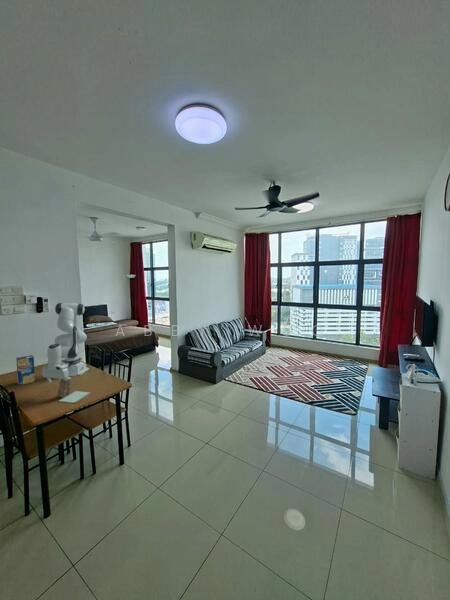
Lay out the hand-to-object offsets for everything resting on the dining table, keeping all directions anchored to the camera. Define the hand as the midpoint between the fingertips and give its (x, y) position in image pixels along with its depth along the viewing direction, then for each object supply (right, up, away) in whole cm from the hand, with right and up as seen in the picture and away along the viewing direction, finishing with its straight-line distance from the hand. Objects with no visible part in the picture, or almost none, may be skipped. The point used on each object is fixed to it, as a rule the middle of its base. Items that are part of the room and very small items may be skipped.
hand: (55, 383), depth 185 cm
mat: (+16, -10, -2) cm, 19 cm away
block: (+6, -9, 0) cm, 11 cm away
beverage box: (-42, -7, +24) cm, 49 cm away
